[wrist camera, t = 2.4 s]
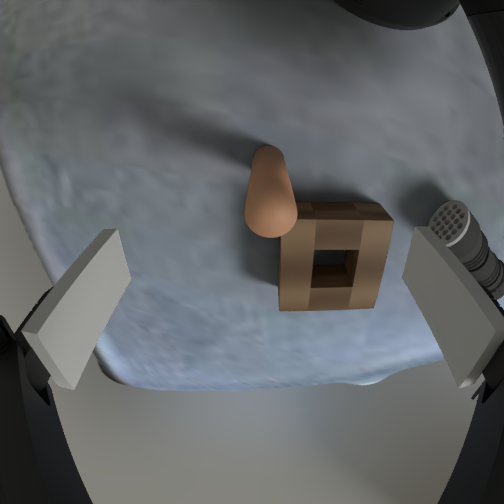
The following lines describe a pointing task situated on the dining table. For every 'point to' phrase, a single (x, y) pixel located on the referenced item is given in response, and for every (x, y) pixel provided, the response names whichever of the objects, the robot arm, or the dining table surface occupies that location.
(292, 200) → the peg
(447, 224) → the flashlight
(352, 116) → the dining table surface
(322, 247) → the socket block
